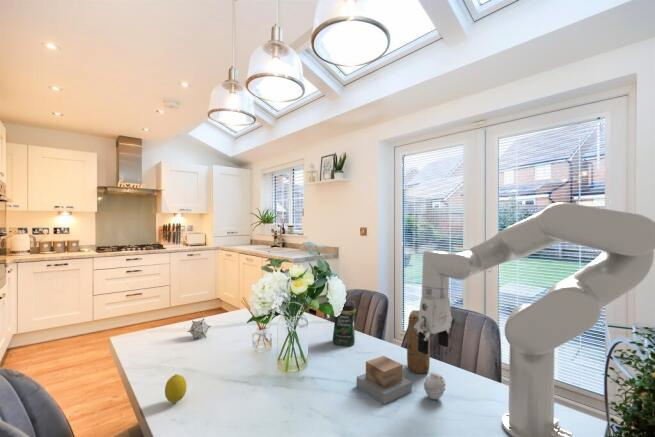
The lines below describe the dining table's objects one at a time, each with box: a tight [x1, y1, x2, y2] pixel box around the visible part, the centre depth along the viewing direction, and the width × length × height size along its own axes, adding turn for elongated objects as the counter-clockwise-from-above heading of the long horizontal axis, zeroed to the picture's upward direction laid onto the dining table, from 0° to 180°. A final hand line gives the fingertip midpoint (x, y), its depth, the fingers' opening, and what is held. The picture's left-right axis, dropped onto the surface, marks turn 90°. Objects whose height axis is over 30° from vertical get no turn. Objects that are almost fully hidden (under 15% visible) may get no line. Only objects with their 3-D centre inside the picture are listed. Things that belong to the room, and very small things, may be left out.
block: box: [406, 309, 431, 374], centre depth 112 cm, size 11×8×20 cm
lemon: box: [164, 373, 187, 404], centre depth 88 cm, size 6×6×8 cm
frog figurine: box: [423, 371, 447, 400], centre depth 92 cm, size 6×7×7 cm
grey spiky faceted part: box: [187, 317, 212, 341], centre depth 137 cm, size 9×8×10 cm
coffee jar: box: [332, 299, 357, 347], centre depth 134 cm, size 10×8×19 cm
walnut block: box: [365, 355, 404, 389], centre depth 97 cm, size 8×8×5 cm
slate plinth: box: [356, 373, 413, 405], centre depth 97 cm, size 12×12×3 cm
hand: (433, 349), depth 93 cm, fingers open, 9 cm apart
